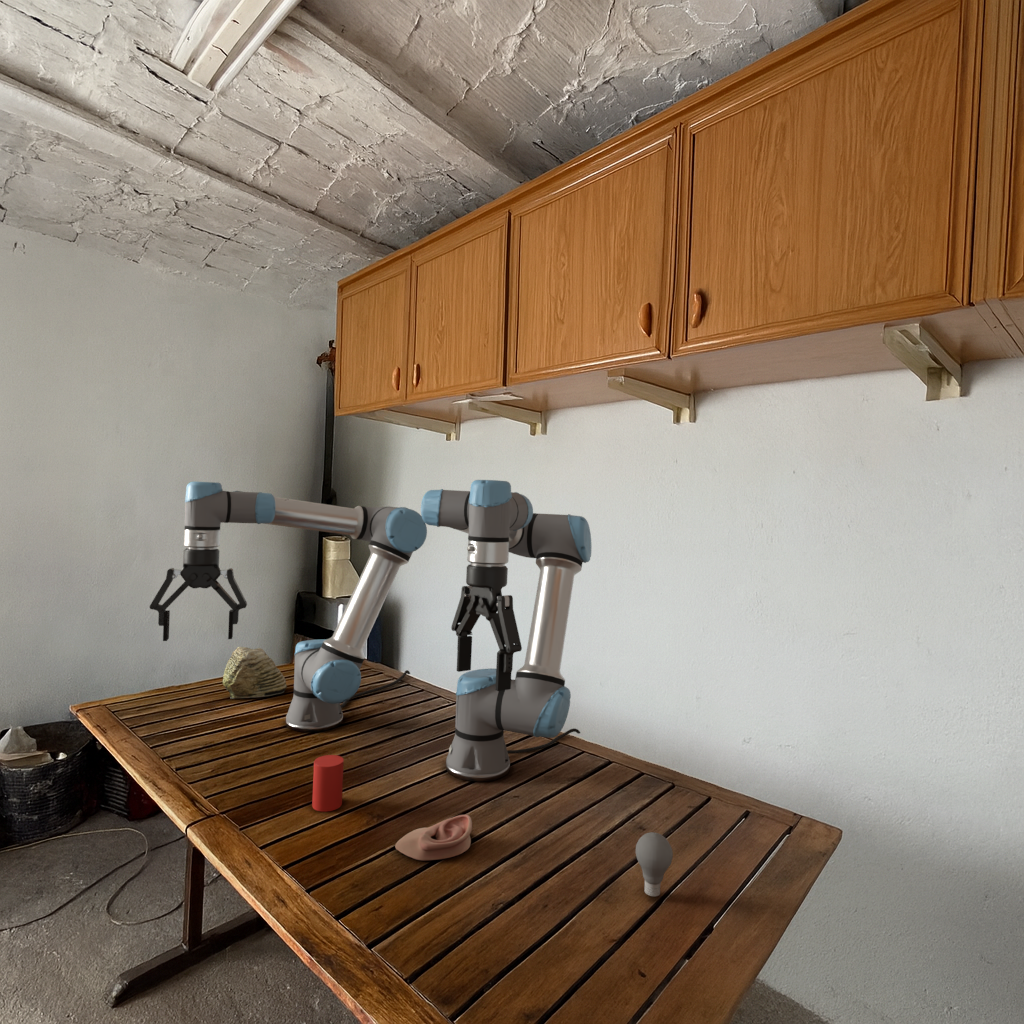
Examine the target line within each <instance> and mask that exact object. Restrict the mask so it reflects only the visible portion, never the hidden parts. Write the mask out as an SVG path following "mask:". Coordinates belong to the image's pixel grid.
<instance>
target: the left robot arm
mask: <svg viewBox="0 0 1024 1024" xmlns="http://www.w3.org/2000/svg"><path fill="white" fill-rule="evenodd" d="M185 488H186V489H185V498H184V530H183V531H184V533H183V546H184V547H185V548H184V550H183V554H182V555H183V556H182V568H181V569H175V568H174V567H170V568H169V569H167V570H166V576H165V580H164V581H163V583H162V584H161V586H160V588H159V590H158V591H157V593H156V595H155V596H154V598H153V599H152V601H151V603H150V605H149V610H154V611H156V612H158V621H157V622H158V624H157V625H158V626H159V627H163V628H162V629H163V630H162V641H163V642H168V640H169V638H170V619H171V618H170V615H171V610H170V609H169V610H167V609H168V607H169V606H170V605H172V603H174V602H175V601H176V600H177V599H178V598H179V597H180V595H181V594H182V593H184V592H185V590H186V589H187V588H189V587H190V588H191V589H199V588H201V589H209V588H212V589H213V590H214V591H215V592H216V593H217V594H218V595H219V596H220V597H221V599H222V600H223V601H224V602H225V603H226V604H227V605H228V607H230V608H231V609H229V611H228V635H227V640H232V639H233V638H234V637H233V636H234V625H238V623H239V612H240V610H243V609H246V608H247V606H248V602H247V600H246V599H245V596H244V594H243V592H242V590H241V588H240V586H239V584H238V582H237V580H236V578H235V575H234V574H235V571H234V569H233V568H231V567H230V568H228V569H220V549H219V548H218V547H220V544H221V524H222V523H225V524H228V523H231V524H257V525H261V524H262V525H271V526H279V527H287V528H293V529H301V530H308V531H309V530H310V531H317V532H325V533H330V534H331V533H332V534H339V535H348V536H350V537H351V539H353V540H357V541H358V540H359V541H364V542H367V543H369V544H368V550H369V552H370V554H369V557H368V559H367V561H366V564H365V565H364V567H363V570H362V572H361V574H360V576H359V578H358V580H357V583H356V585H355V587H354V589H353V591H352V594H351V596H350V597H349V599H348V602H347V604H346V606H345V608H344V611H343V612H342V615H341V617H340V618H339V621H338V623H337V625H336V627H335V629H334V631H333V633H332V636H331V637H329V638H326V639H325V638H324V639H307V640H302V641H299V642H297V644H295V650H294V655H293V656H294V672H293V673H294V674H293V695H292V696H293V697H292V699H291V702H290V704H289V708H288V711H287V713H286V715H285V726H286V728H287V729H289V730H291V731H294V732H295V731H296V732H301V733H316V732H325V731H329V730H332V729H335V728H337V727H339V726H340V725H342V723H343V722H344V714H343V709H342V708H345V707H346V705H347V704H348V702H350V701H351V700H353V699H356V698H359V697H361V696H365V695H368V694H372V693H375V692H379V691H381V690H384V689H387V688H390V687H393V686H395V685H396V684H398V683H400V682H401V681H402V680H403V679H404V678H405V677H406V676H407V675H411V672H410V670H409V669H408V670H405V671H404V672H403V673H402V675H400V676H399V677H398V678H397V679H395V680H394V681H392V682H389V683H387V684H384V685H382V686H379V687H375V688H372V689H367V690H365V691H362V692H358V690H359V688H360V686H361V682H362V672H361V668H362V666H363V663H364V661H365V659H366V656H365V653H364V648H365V645H366V643H367V641H368V638H369V636H370V633H371V632H372V629H373V627H374V625H375V623H376V620H377V618H378V617H379V614H380V612H381V609H382V607H383V605H384V603H385V600H386V598H387V596H388V594H389V592H390V589H391V588H392V585H393V583H394V581H395V578H396V577H397V575H398V572H399V570H400V568H401V567H402V566H405V565H407V564H409V561H410V559H411V557H412V555H413V553H414V552H416V551H418V550H419V549H421V547H423V545H424V544H425V543H426V539H427V535H428V528H427V527H428V526H427V524H426V523H425V522H424V520H423V519H422V515H421V513H419V512H418V511H416V510H414V509H413V508H408V507H406V506H400V507H398V506H364V505H357V506H355V507H354V508H352V507H346V506H340V505H334V504H327V503H319V502H312V501H307V500H299V499H294V498H293V499H292V498H288V497H287V498H286V497H279V496H274V494H272V493H269V492H262V491H252V492H251V491H241V490H235V491H228V490H224V489H223V485H222V483H220V482H215V481H214V482H211V481H190V482H188V483H187V485H186V487H185ZM221 575H222V576H223V578H225V579H227V582H228V584H229V586H230V588H231V590H232V592H233V594H234V596H235V598H236V600H237V601H238V603H237V602H236V600H235V599H234V598H233V597H232V596H231V595H230V594H229V593H228V592H227V591H226V589H225V588H223V586H222V584H221V583H220V582H219V580H218V579H219V577H220V576H221ZM179 576H181V578H182V579H183V580H184V582H183V583H182V584H181V585H180V586H179V587H178V588H177V589H175V591H174V592H173V593H172V594H171V595H170V596H169V597H168V598H167V599H166V600H165V601H164V602H163V603H162V604H160V603H161V601H162V599H163V597H164V596H165V594H166V593H167V591H168V589H169V587H170V585H171V584H172V582H173V581H174V580H175V579H176V578H178V577H179ZM357 692H358V693H357ZM341 703H342V704H341Z"/></svg>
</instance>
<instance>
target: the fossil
mask: <svg viewBox="0 0 1024 1024" xmlns="http://www.w3.org/2000/svg"><path fill="white" fill-rule="evenodd" d="M222 676H223V677H222V685H223V687H224V688H225V690H226V691H228V693H229V698H230V699H250V698H264V697H271V696H275V695H281V694H284V693H285V691H286V689H287V687H288V686H287V680H286V678H285V676H284V674H283V673H282V672H281V669H279V668H278V667H277V665H276V663H275V662H274V660H273V659H272V658H271V657H270V656H269V655H268V654H267V653H266V652H265V650H264V649H263V648H260V647H258V648H251V647H247V646H246V647H245V646H238V647H237V648H236V649H235V650H233V651H232V653H231V656H230V657H229V659H228V660H227V663H226V666H225V668H224V671H223V675H222Z"/></svg>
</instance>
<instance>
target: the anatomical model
mask: <svg viewBox="0 0 1024 1024" xmlns="http://www.w3.org/2000/svg"><path fill="white" fill-rule="evenodd" d="M472 830H473V821H472V818H471V816H470V815H469V814H459V815H456V816H452V817H450V818H447V819H444V820H442V821H440V822H437V823H436V824H435V823H434V824H433V825H431V826H429V827H420V828H417V829H413V830H412V831H409V832H408V833H406V834H405V835H403V836H402V837H401V838H400V839H399V840H397V842H396V843H395V845H394V848H395V849H396V851H398V852H400V853H401V854H403V855H405V856H406V857H408V858H412V859H414V860H417V861H436V860H437V861H438V860H444V859H450V858H453V857H456V856H459V855H462V854H463V853H464V852H467V851H468V850H469V848H470V847H471V844H472V839H471V833H472Z"/></svg>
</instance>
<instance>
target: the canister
mask: <svg viewBox="0 0 1024 1024" xmlns="http://www.w3.org/2000/svg"><path fill="white" fill-rule="evenodd" d="M344 759H345V758H344V757H342V756H341V755H336V754H326V755H321V756H318V757H316V758H315V759H314V761H313V775H312V776H313V778H312V779H313V780H312V799H311V800H312V801H311V802H312V803H311V807H312V809H313V810H315V811H317V812H321V813H325V812H326V813H327V812H333V811H336V810H337V809H339V808H340V807H341V806H342V805H343V784H344V783H343V782H344V763H345V761H344Z"/></svg>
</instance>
